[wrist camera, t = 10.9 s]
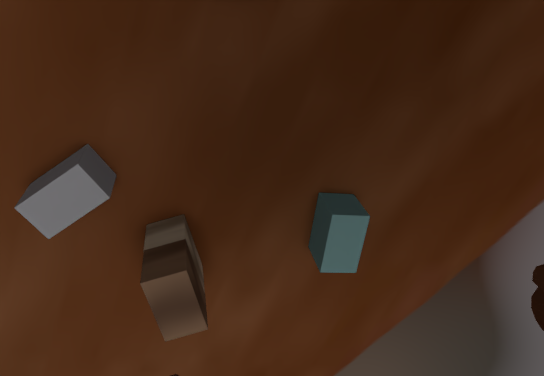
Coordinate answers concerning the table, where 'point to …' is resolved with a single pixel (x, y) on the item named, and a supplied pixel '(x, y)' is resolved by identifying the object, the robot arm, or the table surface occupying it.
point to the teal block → (338, 232)
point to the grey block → (67, 192)
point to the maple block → (173, 238)
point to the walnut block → (174, 290)
